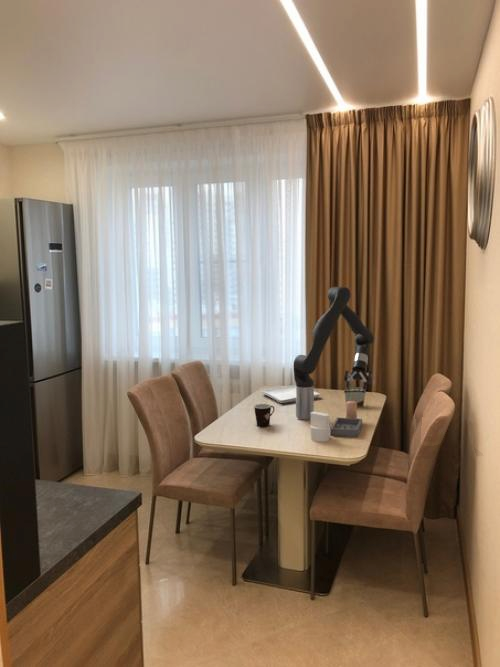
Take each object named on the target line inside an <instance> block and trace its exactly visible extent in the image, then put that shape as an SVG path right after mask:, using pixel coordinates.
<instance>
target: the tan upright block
mask: <svg viewBox="0 0 500 667" xmlns="http://www.w3.org/2000/svg"><path fill="white" fill-rule="evenodd" d="M345 418H355V419H358V407H357V402H355V401H347V402H346V401H345Z"/></svg>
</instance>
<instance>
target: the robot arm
mask: <svg viewBox="0 0 500 667" xmlns="http://www.w3.org/2000/svg"><path fill="white" fill-rule="evenodd" d="M327 297H328V298H327V299H328V300H329V301H330V303H331V306H330V308H328V310H327V311H326V312H325V313H324V314H323V315H322V316H320V318H319V319H318V320H317V322H316V323H315V325H314V327H313V330H312V332H311V334H312V336H311V340H312V341H311V342H312V343H311V347H310V350H309V351H308V353H307V354H306V355H304V354H300V355H299V354H298V355H297V356H296V357H295V359H294V361H293V378H294V382H295V385H296V401H295V417H296V419H297V420H304V421H305V420H306V421H307V420H311V415H310V413H311V412H315V398H314V391H315V387H314V386H315V384H314V383H315V382H314V380H313V378H311V376H310V375H311V374H312V373H314V372H315V370H316V368H317V366H318V364H319V361H320V359H321V356H322V354H323V352H324V349H325V346H326V344H327V342H328V340H329V339H330V336H331V334H332V333H333V331H334V327H335V326H336V324H337V322H338V321H339V318H340V316H342V317H343V319H344V320H345V322H346V324H348V327H349V328H350V331H352V333H353V334H355V336H354V345H355V354H354V358H353V362H352V367H351V371H349V370H345V372H344V376H343V381H344V383H346V384H345V387H346V388H347V389H349V388H350V385H351V383H352V382H353V381H363V386H362V388H363V390H365V391H366V390H367V388H368V387H367V386H368V384H369V385H370V384H372V374H373V373H372V371H369V372H367V367H368V364H369V362H368V361H369V360H368V359H369V352H370V350H369V347H368V346H369V345H372V344H373V343H374V341H375V336H374V334H373V333H372V331H370V329H368V328H367V327H366V326H365V325H364V323H363V322H362V320H361V318H360V317H359V315H358V314H357V313H356V312H355V311H353V309H351V308H350V307H349V306H348V303H349V302H350V298H351V290H350V289H349V288H348V287H345V286H331V288H330V289H329V290H328V291H327ZM366 377H367V378H366ZM367 379H368V380H367Z"/></svg>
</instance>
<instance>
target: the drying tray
mask: <svg viewBox="0 0 500 667" xmlns="http://www.w3.org/2000/svg"><path fill="white" fill-rule="evenodd" d="M362 427H363V418H357V419H355V418H346V417H339V416H337V417H336V419H335V420H334V422H333V424H332V425H331V427H330V436H334V437H345V438H346V437H347V438H358V437H359V434H360V432H361V430H362Z"/></svg>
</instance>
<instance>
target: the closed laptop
mask: <svg viewBox="0 0 500 667" xmlns="http://www.w3.org/2000/svg"><path fill="white" fill-rule="evenodd" d="M260 392H261V393H262V394H263V395H265V396H267V397H269V398H271V399H273V400H274V401H276V402H278V403H281V404H287V403H294V402H295V403H296V384H293V385H285V386H283V385H282V386H276V387H270V388H266V389H261V390H260ZM320 395H321V393H319V392H317V391H315V390H314V399H316V398H317V397H319V396H320Z"/></svg>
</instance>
